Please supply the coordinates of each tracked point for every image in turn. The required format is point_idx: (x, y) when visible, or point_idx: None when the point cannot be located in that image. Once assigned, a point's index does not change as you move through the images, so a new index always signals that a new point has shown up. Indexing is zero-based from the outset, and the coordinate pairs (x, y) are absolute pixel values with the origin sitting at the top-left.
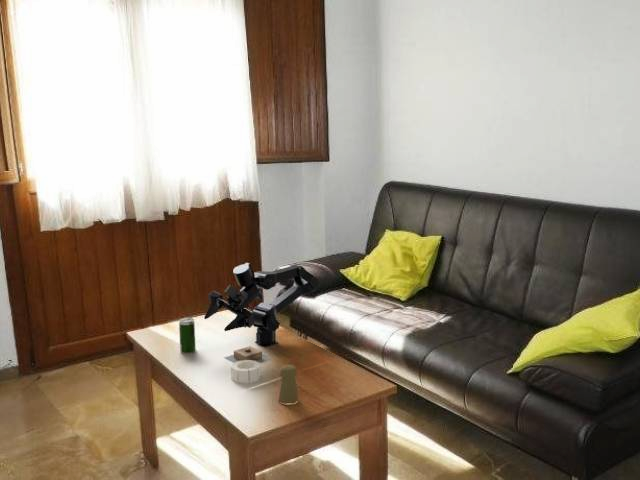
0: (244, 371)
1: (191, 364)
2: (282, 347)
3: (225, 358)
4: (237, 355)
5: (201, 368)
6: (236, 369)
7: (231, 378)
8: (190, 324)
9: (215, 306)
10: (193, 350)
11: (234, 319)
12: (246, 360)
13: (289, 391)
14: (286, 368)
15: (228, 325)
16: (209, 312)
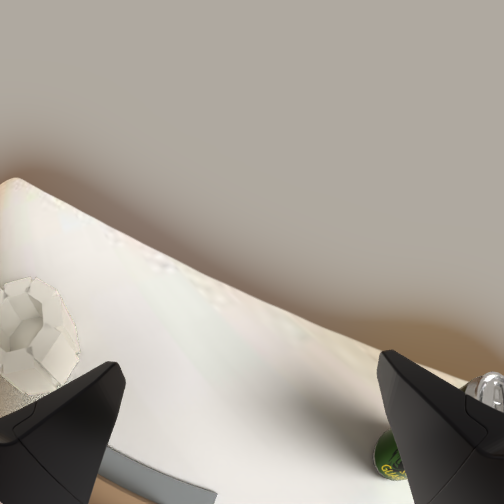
0: (15, 282)
1: (292, 383)
2: None
3: (204, 489)
4: (138, 497)
5: (231, 371)
6: (38, 282)
7: (73, 322)
8: None
9: (471, 498)
10: (377, 458)
11: (24, 430)
12: (23, 365)
13: None
14: None
15: (82, 381)
16: (412, 393)
